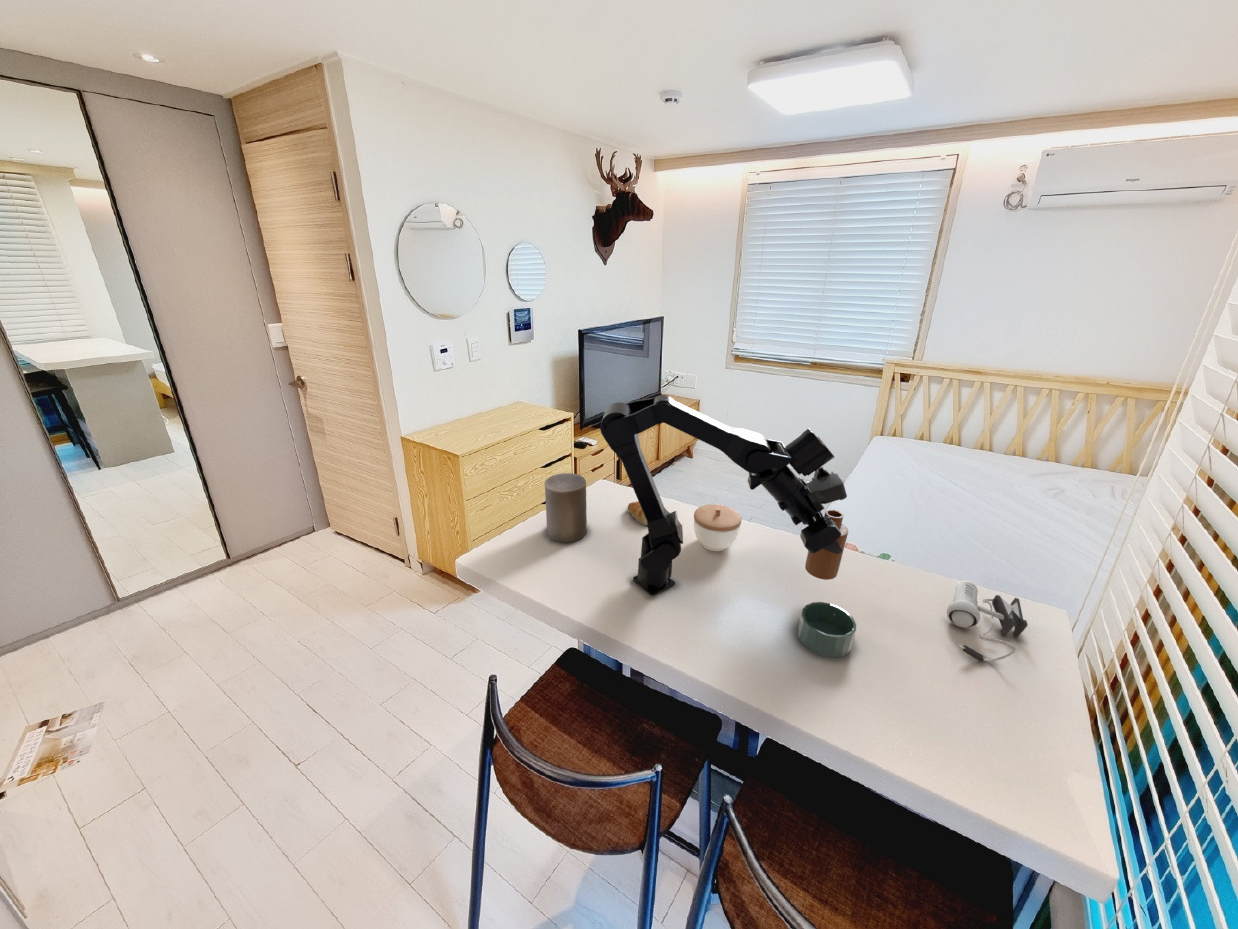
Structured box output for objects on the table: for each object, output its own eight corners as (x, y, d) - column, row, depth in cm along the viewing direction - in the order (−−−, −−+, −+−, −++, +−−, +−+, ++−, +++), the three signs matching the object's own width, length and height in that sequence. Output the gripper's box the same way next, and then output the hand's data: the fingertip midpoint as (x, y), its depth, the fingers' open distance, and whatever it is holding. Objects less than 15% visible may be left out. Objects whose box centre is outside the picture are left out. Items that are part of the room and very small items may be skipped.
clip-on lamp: (1013, 689, 85) (1016, 612, 97) (1032, 669, 81) (1032, 591, 93) (936, 655, 90) (947, 586, 102) (949, 634, 86) (960, 565, 98)
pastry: (621, 512, 130) (621, 499, 129) (640, 505, 135) (640, 492, 133) (645, 527, 124) (646, 514, 123) (665, 519, 128) (666, 506, 127)
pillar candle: (595, 531, 122) (595, 476, 116) (565, 548, 115) (564, 490, 109) (567, 517, 128) (566, 464, 122) (538, 532, 121) (535, 476, 115)
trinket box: (696, 528, 124) (699, 494, 120) (740, 537, 121) (745, 502, 117) (687, 551, 115) (690, 515, 111) (734, 561, 112) (739, 525, 108)
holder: (831, 666, 85) (837, 645, 83) (787, 634, 92) (791, 614, 90) (861, 643, 90) (866, 623, 88) (816, 614, 96) (820, 595, 95)
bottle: (823, 583, 96) (837, 525, 91) (798, 566, 101) (810, 510, 95) (843, 574, 99) (858, 517, 93) (818, 558, 104) (831, 503, 98)
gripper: (840, 485, 82) (892, 547, 86) (810, 443, 99) (855, 496, 103) (783, 524, 86) (836, 581, 90) (763, 476, 103) (808, 526, 106)
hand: (834, 543), depth 97 cm, fingers closed on bottle, 6 cm apart
